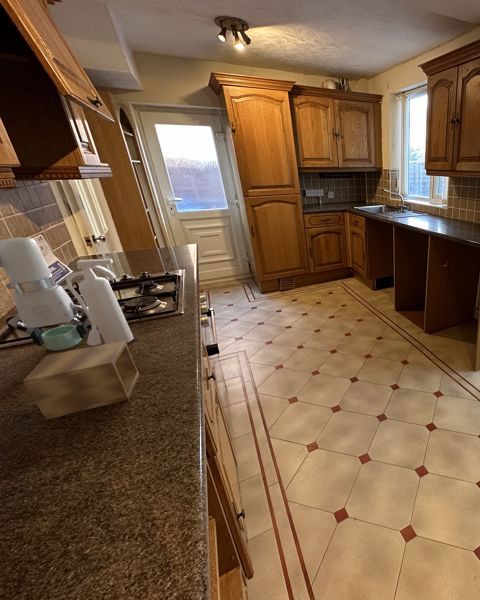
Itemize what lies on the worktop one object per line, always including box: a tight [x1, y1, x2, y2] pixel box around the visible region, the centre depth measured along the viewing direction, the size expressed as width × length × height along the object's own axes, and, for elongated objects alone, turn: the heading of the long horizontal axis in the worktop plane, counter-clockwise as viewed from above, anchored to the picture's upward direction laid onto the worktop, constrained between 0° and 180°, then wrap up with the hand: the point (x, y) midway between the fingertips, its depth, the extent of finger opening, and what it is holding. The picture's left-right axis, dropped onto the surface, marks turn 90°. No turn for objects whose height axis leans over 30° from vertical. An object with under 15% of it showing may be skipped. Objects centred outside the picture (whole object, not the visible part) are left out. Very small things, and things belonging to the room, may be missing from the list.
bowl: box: [41, 324, 83, 352], centre depth 93 cm, size 7×7×5 cm
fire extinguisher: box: [65, 258, 134, 347], centre depth 90 cm, size 7×12×25 cm, turn 118°
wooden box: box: [22, 341, 140, 420], centre depth 72 cm, size 14×10×10 cm
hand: (64, 339), depth 93 cm, fingers open, 9 cm apart
